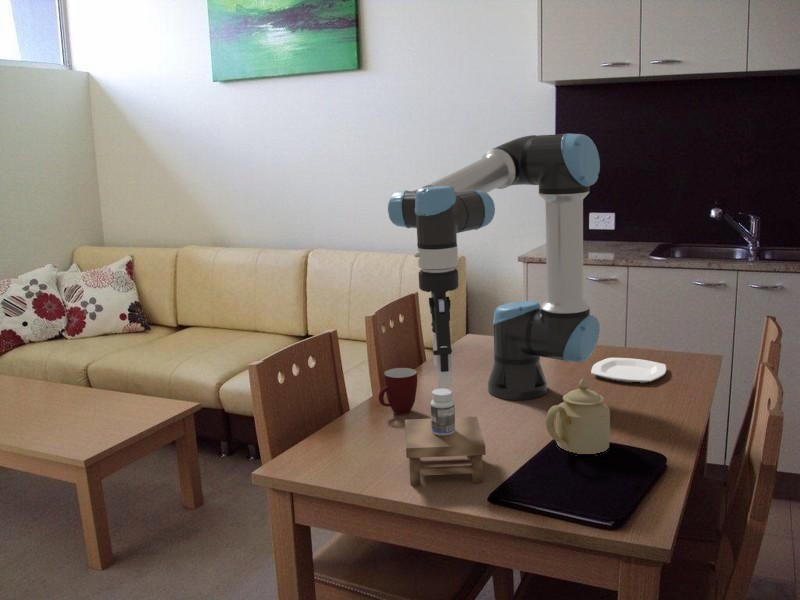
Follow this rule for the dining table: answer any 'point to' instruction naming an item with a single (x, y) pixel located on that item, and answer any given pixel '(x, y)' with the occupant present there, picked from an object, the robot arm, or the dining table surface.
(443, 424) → the pill bottle
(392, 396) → the mug
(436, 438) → the small wooden bench
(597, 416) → the sugar bowl
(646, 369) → the plate
